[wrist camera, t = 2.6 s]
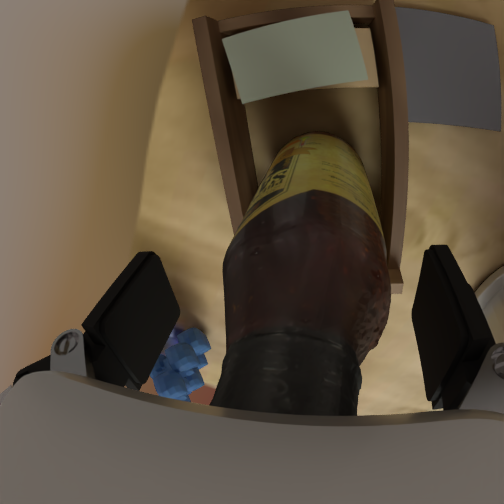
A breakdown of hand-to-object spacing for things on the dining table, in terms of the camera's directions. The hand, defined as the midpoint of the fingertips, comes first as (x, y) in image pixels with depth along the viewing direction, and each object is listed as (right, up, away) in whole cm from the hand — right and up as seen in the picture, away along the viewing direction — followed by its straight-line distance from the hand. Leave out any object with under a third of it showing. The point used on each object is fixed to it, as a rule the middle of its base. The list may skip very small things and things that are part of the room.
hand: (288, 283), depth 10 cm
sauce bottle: (+3, +7, +10) cm, 13 cm away
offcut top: (+1, +11, +4) cm, 12 cm away
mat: (+12, +13, +3) cm, 18 cm away
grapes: (-8, -8, +23) cm, 26 cm away
